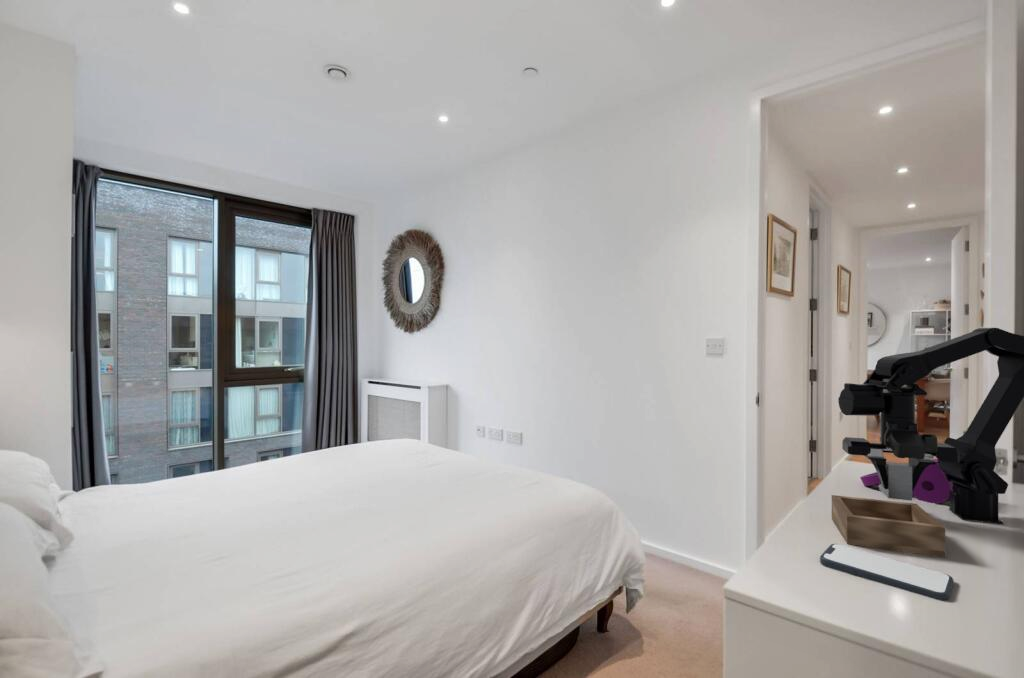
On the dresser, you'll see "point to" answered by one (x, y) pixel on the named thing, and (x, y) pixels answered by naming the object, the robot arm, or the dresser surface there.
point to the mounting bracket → (923, 484)
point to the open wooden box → (888, 525)
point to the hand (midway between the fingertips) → (897, 489)
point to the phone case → (888, 571)
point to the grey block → (898, 481)
